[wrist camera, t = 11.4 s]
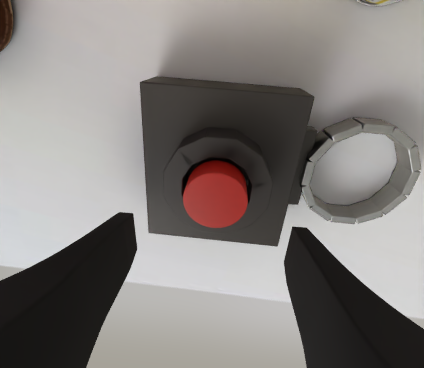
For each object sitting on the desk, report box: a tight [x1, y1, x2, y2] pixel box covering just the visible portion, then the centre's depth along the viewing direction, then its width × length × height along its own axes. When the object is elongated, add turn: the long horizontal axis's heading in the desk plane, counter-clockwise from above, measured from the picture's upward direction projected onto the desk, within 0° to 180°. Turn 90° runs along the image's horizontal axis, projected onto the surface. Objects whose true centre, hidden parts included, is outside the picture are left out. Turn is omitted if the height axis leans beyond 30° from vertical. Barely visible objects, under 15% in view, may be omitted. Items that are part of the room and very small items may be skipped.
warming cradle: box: [288, 117, 421, 224], centre depth 19 cm, size 9×8×2 cm
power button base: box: [140, 77, 314, 246], centre depth 18 cm, size 10×11×6 cm
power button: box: [183, 160, 248, 228], centre depth 15 cm, size 4×4×2 cm
